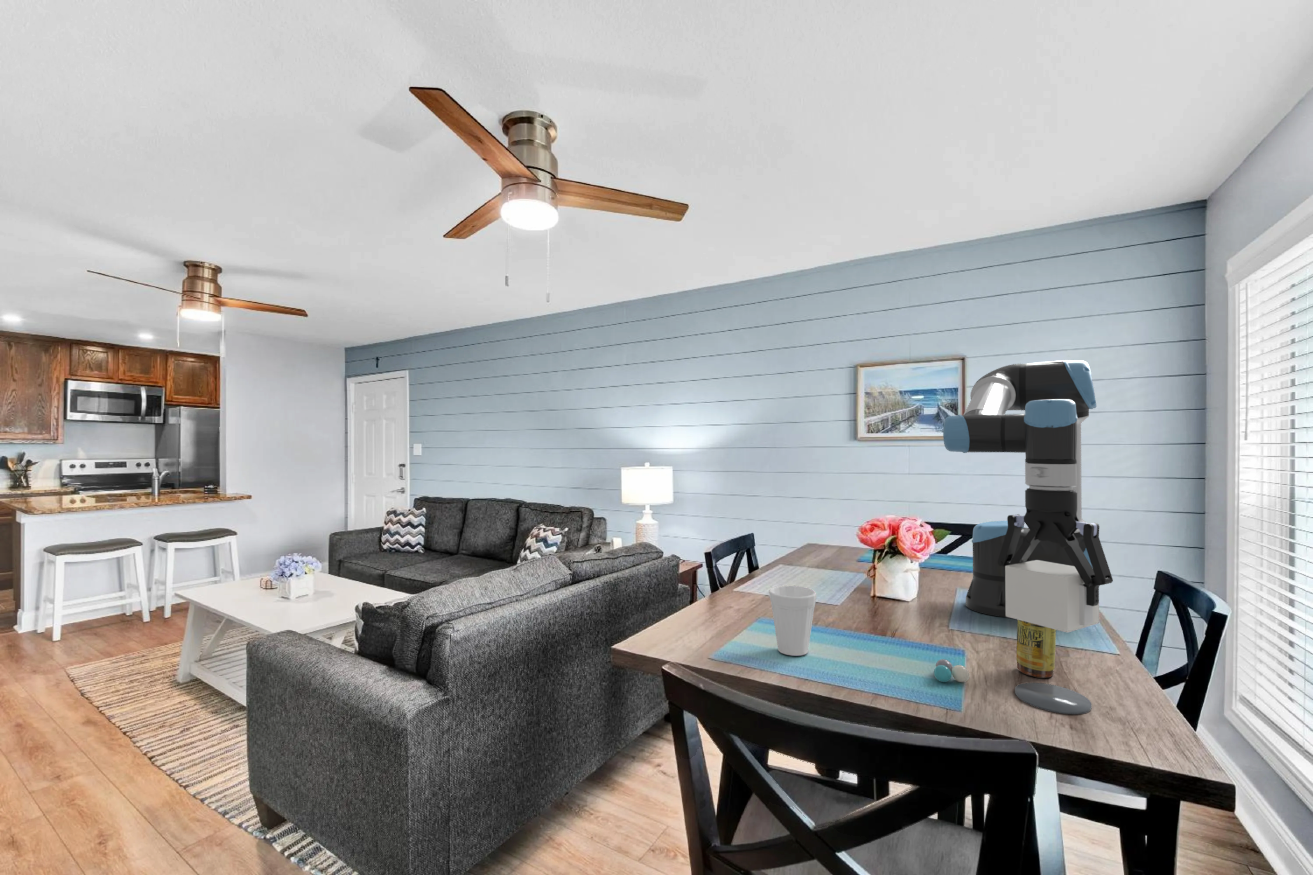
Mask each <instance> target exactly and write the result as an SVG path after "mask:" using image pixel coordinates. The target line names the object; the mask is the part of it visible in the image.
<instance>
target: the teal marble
mask: <svg viewBox="0 0 1313 875" xmlns="http://www.w3.org/2000/svg"><path fill="white" fill-rule="evenodd" d="M933 675H934V677H935V679H936V680H937V681H939V682H941V683H947V682H950V680H951V679H952V677H953V676H952V674H951V671H950V669H949V668H948V667H946V666H944V665H938V666H937V667H936V666H935V668H934V671H933Z"/></svg>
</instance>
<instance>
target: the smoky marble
mask: <svg viewBox="0 0 1313 875" xmlns="http://www.w3.org/2000/svg"><path fill="white" fill-rule="evenodd" d="M938 665H944V666H946V667H948V668H949V669H950V671H951V672H952V668H953V667H954V666H953V664H952V663H951V662H950V661H949V660H947V659H944V658H943V659H939V660H937V662H936V664H935V667H937V666H938ZM951 674H952V673H951Z"/></svg>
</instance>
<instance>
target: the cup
mask: <svg viewBox="0 0 1313 875" xmlns="http://www.w3.org/2000/svg"><path fill="white" fill-rule="evenodd" d="M768 593H769V600H770V603H771V604H770V605H771V611H772V617H773V624H774V632H775V637H776V644H777V651H778V652H780V653H781V654H784V655H787V656H793V657H794V656H804V655H806V654H808V652H809V648H810V640H811V632H812V626H813V619H814V613H815V606H816V602H817V592H816V591H815V590H814V589H813V588H810V587H805V586H801V585H800V586H799V585H788V584H787V585H777V586H774V587H771V588H770V589H769V590H768Z"/></svg>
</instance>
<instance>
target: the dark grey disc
mask: <svg viewBox="0 0 1313 875" xmlns="http://www.w3.org/2000/svg"><path fill="white" fill-rule="evenodd" d="M1014 694H1015V696H1016V697H1017V698H1018V699H1019V700H1021V701H1022V702H1024V703H1025V704H1027V705H1030V706H1032V707H1035V708H1038V709H1040V710H1044V711H1047V712H1051V713H1056V714H1057V713H1058V714H1063V715H1064V714H1065V715H1084V714H1087V713H1089V712H1091V710H1092V701H1091V700H1090V699H1089V698H1088V697H1087V696H1086V695H1084V694H1083V693H1082V694H1081V693H1079V692H1077V691H1075V690H1073V689H1070V688H1067V687H1064V686H1060V685H1056V684H1052V683H1051V684H1050V683H1042V682H1023V683H1019V684H1017V685H1016V686H1015V688H1014Z"/></svg>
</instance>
